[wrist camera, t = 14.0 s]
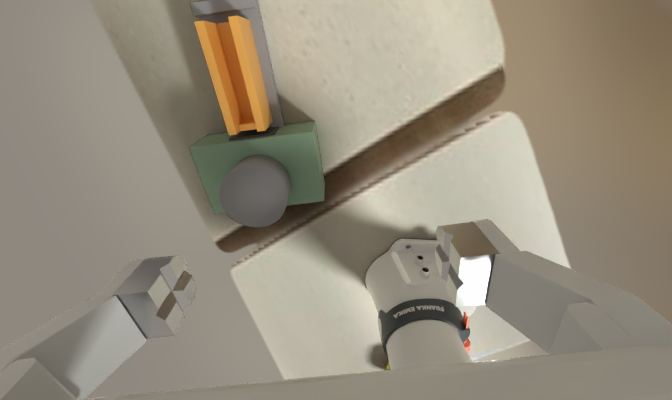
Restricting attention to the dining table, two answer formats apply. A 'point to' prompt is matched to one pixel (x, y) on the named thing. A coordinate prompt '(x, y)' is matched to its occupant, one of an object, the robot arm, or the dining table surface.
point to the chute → (235, 73)
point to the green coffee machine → (257, 145)
